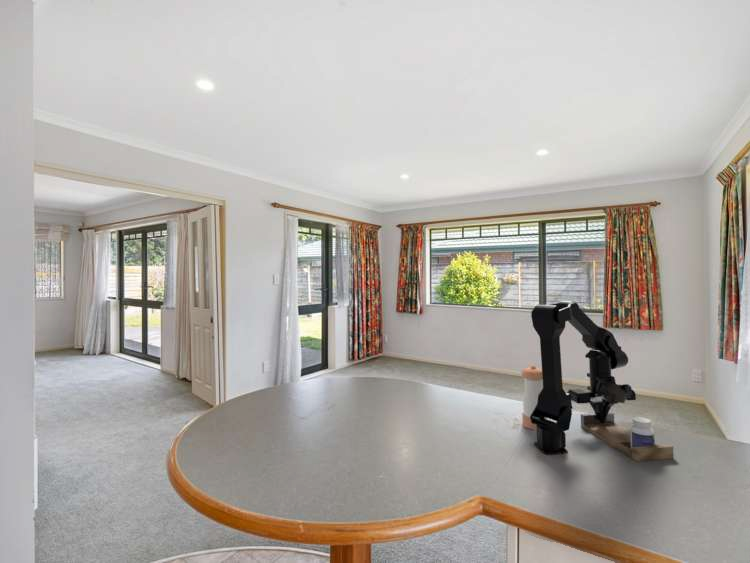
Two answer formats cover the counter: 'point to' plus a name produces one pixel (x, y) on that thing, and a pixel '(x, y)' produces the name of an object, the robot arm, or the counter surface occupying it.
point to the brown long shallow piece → (623, 438)
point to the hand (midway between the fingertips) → (601, 422)
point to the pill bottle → (641, 432)
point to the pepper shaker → (531, 393)
